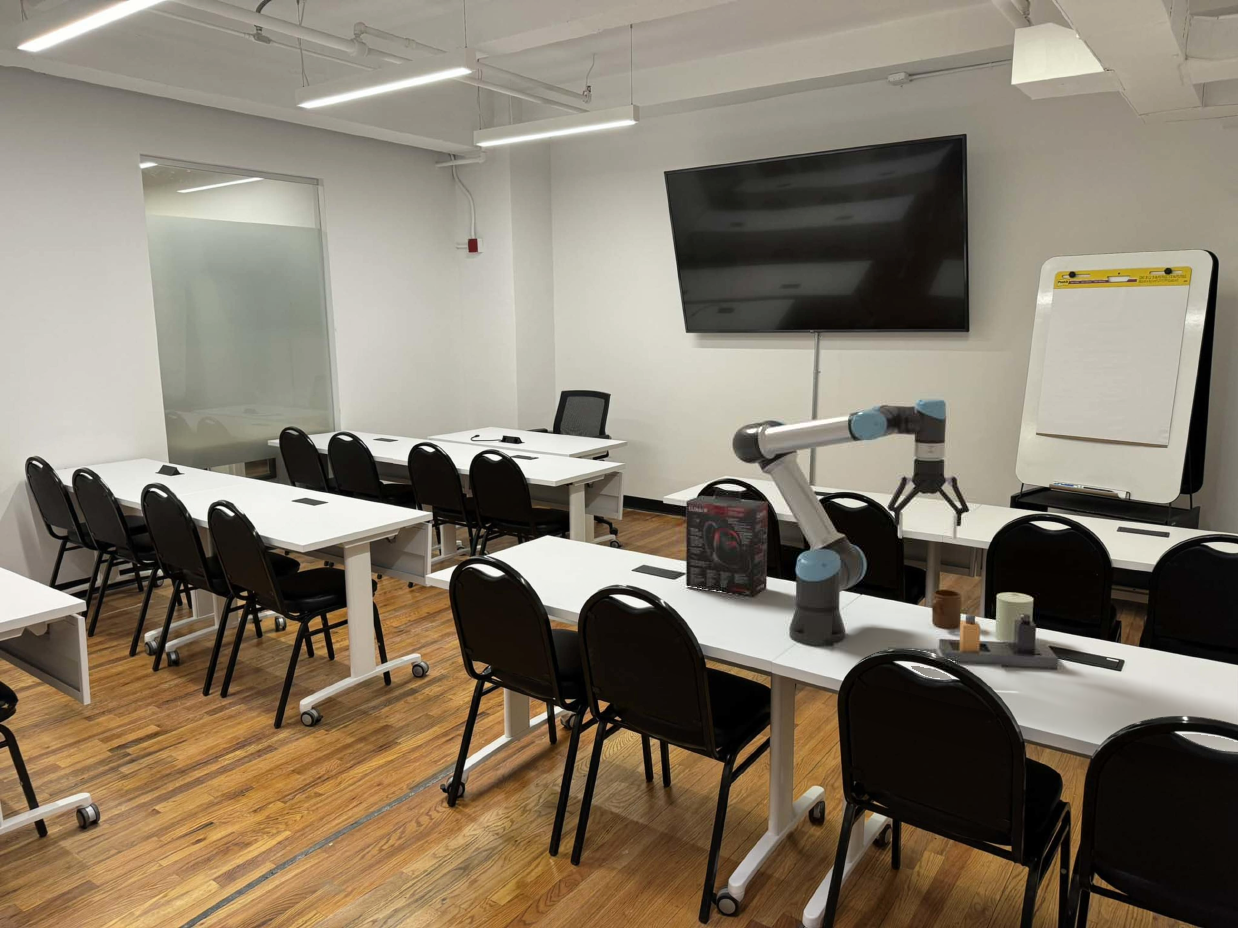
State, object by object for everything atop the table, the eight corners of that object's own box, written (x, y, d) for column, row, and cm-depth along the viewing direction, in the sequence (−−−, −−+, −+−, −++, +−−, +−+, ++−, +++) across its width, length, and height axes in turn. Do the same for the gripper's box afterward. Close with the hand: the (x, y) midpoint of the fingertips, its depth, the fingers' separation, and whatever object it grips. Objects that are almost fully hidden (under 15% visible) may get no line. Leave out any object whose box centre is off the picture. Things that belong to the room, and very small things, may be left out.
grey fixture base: (945, 663, 216) (947, 617, 214) (938, 649, 226) (940, 605, 224) (1057, 669, 211) (1059, 622, 209) (1045, 654, 221) (1047, 609, 219)
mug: (946, 635, 237) (947, 602, 235) (919, 629, 242) (920, 596, 241) (965, 624, 245) (966, 592, 244) (939, 618, 250) (940, 587, 249)
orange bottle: (962, 659, 218) (963, 617, 216) (959, 653, 222) (960, 612, 220) (978, 660, 217) (980, 618, 216) (975, 654, 221) (977, 613, 219)
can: (1029, 634, 236) (1031, 591, 234) (1033, 645, 227) (1036, 601, 226) (993, 631, 239) (995, 589, 237) (995, 642, 230) (997, 599, 229)
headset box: (768, 588, 284) (769, 489, 279) (754, 598, 273) (755, 496, 269) (701, 579, 296) (700, 484, 292) (685, 588, 286) (684, 490, 281)
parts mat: (891, 662, 218) (892, 660, 218) (887, 648, 227) (887, 646, 227) (941, 665, 215) (942, 663, 215) (935, 650, 225) (935, 649, 225)
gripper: (881, 460, 224) (879, 539, 227) (982, 460, 219) (979, 541, 222) (878, 456, 231) (876, 533, 234) (976, 456, 226) (973, 535, 229)
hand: (926, 537), depth 228 cm, fingers open, 13 cm apart
